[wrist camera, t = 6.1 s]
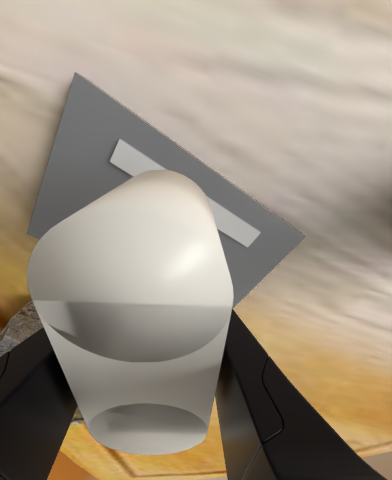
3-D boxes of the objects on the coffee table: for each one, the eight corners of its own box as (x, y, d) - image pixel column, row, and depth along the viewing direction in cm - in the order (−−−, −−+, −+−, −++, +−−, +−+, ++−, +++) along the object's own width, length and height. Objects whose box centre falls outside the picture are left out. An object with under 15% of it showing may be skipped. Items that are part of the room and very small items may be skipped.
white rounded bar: (217, 172, 7) (251, 214, 3) (196, 370, 13) (198, 475, 9) (106, 166, 7) (-11, 200, 3) (135, 369, 13) (108, 476, 9)
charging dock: (298, 230, 17) (307, 238, 16) (217, 313, 22) (219, 324, 20) (85, 78, 12) (72, 70, 11) (37, 227, 16) (23, 235, 15)
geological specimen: (-17, 330, 15) (143, 400, 19) (40, 283, 21) (155, 344, 25) (-49, 392, 19) (92, 441, 22) (7, 337, 24) (113, 384, 28)
